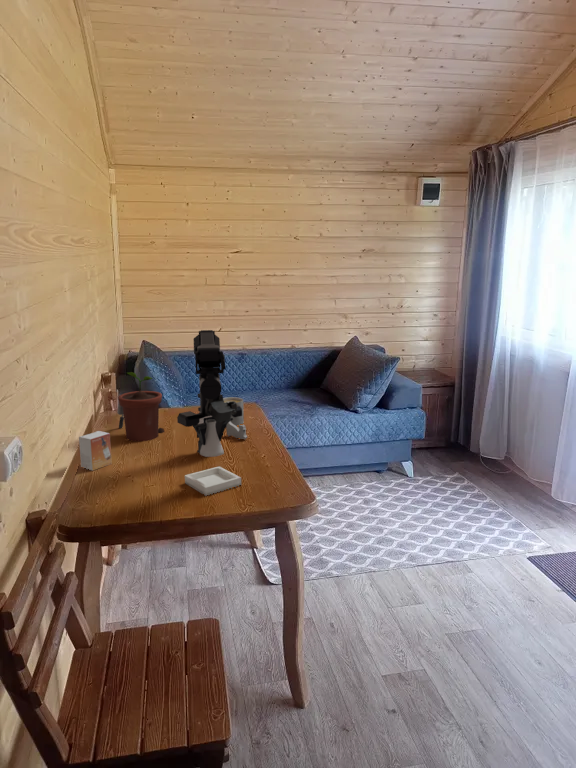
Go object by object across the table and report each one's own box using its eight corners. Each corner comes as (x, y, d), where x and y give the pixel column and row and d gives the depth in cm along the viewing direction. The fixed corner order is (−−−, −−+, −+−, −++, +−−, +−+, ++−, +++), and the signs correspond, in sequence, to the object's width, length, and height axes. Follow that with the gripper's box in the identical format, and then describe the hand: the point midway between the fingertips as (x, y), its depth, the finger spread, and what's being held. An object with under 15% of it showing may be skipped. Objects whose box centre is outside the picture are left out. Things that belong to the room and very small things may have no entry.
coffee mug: (244, 420, 233) (243, 397, 231) (243, 427, 223) (242, 403, 221) (212, 420, 232) (211, 397, 230) (209, 427, 223) (208, 403, 221)
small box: (92, 471, 176) (89, 439, 174) (80, 468, 179) (78, 436, 177) (112, 463, 183) (110, 432, 180) (100, 460, 186) (98, 430, 183)
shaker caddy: (219, 473, 174) (219, 466, 173) (241, 485, 165) (241, 477, 164) (185, 483, 166) (184, 475, 166) (205, 496, 157) (205, 487, 157)
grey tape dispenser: (229, 435, 213) (248, 440, 207) (226, 436, 212) (245, 441, 206) (228, 421, 212) (247, 425, 206) (226, 421, 211) (245, 426, 204)
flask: (203, 459, 159) (202, 425, 157) (196, 451, 165) (194, 419, 163) (227, 455, 162) (227, 422, 160) (219, 448, 168) (218, 416, 166)
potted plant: (114, 444, 202) (109, 376, 196) (118, 428, 222) (114, 366, 217) (164, 441, 205) (161, 374, 200) (164, 425, 226) (161, 364, 221)
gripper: (195, 401, 148) (197, 457, 151) (253, 391, 159) (253, 443, 163) (175, 393, 156) (177, 446, 160) (231, 384, 168) (232, 434, 171)
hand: (211, 443), depth 163 cm, fingers closed on flask, 5 cm apart
